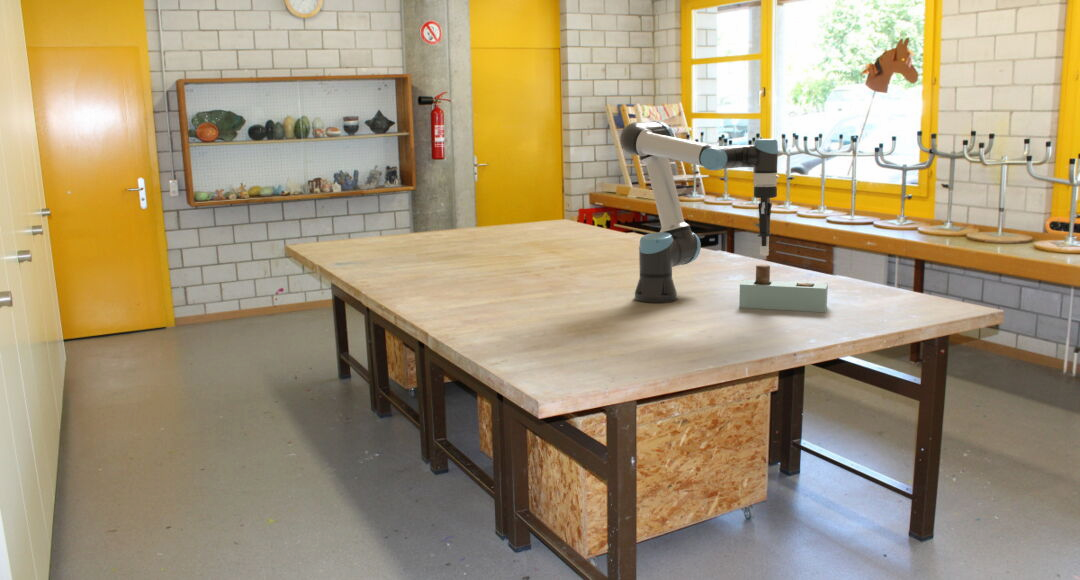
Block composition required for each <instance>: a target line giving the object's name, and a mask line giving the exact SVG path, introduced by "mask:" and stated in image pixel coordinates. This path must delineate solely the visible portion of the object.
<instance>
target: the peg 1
mask: <svg viewBox="0 0 1080 580" xmlns="http://www.w3.org/2000/svg"><path fill="white" fill-rule="evenodd" d="M770 277H771V265H770V264H756V266H755V280H756V284H761V285H770V281H771V280H770V279H771V278H770Z"/></svg>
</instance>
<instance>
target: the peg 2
mask: <svg viewBox="0 0 1080 580" xmlns="http://www.w3.org/2000/svg"><path fill="white" fill-rule="evenodd" d="M811 283H812V282H806V283H798V286H802V287H812V284H811Z"/></svg>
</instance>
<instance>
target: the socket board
mask: <svg viewBox="0 0 1080 580" xmlns="http://www.w3.org/2000/svg"><path fill="white" fill-rule="evenodd" d="M798 283H807V282H805V281H802V282H801V281H783V280H781V281H780V280H770V285H761V284H756V279H743V280H742V281H741V282H740V283H739V302H738V304H739V308H743V309H745V308H746V309H763V310H775V311H776V310H779V311H781V310H782V311H797V312H815V313H826V311H827V307H828V290H829V289H828V287H829V286H828V285H829V283H823V282H810V283H811V284H812V287H802V286H798Z"/></svg>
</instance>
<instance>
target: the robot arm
mask: <svg viewBox="0 0 1080 580" xmlns="http://www.w3.org/2000/svg"><path fill="white" fill-rule="evenodd" d="M673 132H674V131H673V130H672V128H671V127H670V126H669V125H668V124H666V123H665V122H662V121H656V120H654V121H653V120H652V121H642V122H641V121H640V122H638V121H637V122H632V123H629V124H628V125H626V126H625V127H624V128H623V129H622V131H621V133H620V136H619V141H620V146H621V148H622V149H623V151H624V152H625V153H627V154H629V155H635V156H639V159H640V162H641V163H642V164H643V165H645V166H646V170H647V173H648V177H649V182H650V185H651V189H652V193H653V194H652V195H653V197H654V201H655V205H656V210H657V214H658V218H659V222H660V227H661V229H659V230H660V231H659V232H657V231H656V232H650V233H647V234H644V235H642V236H641V238H640V239H639V247H638V250H639V252H638V253H639V258H638V259H639V260H638V261H639V279H638V281H637V284H636V285H637V286H636V288H635V289H634V290H635V291H634V300H636V301H638V302H642V303H651V304H652V303H653V304H654V303H655V304H656V303H657V304H659V303H660V304H661V303H662V304H663V303H670V302H674V301H677V298H678V292H677V289H676V286H675V283H674V279H673V267H679V266H684V265H688V264H690V263H692V262H694V261H695V260H696V259H697V258H698V257H699V255H700V253H701V248H702V247H701V246H702V244H701V239H700V238H699V236H698V235H697V234H696V233H694V232H693V231H692V229H691V225H690V224H689V223H687V222H686V221H685V219H684V214H683V211H682V206H681V202H680V198H679V194H678V190H677V186H676V182H675V178H674V175H673V170H672V166H671V162H670V160H672V161H678V162H681V163H686V164H687V163H688V164H691V165H695V166H700V167H703V168H704V169H705V170H708V171H719V170H720V171H721V170H726V169H735V168H737V169H738V168H754V169H753V185H755V186H754V187H753V197H754V198H757V199H760V201H759V203H758V206H757V207H758V217H759V218H758V221H759V226H758V227H759V229H758V230H759V233H758V234H757V237H759V256H765V257H766V256H767V257H768V256H769V255H770V253H769V250H770V249H769V248H770V247H769V245H770V243H769V242H770V236H772V233H771V231H770V230H771V229H770V227H771V214H772V207H773V205H772V204H773V203H772V202H771V199H772V198H773V199H774V198H776V197H778V186H777V184H778V179H779V178H780V176H779V175H778V157H779V156H778V155H779V148H778V147H779V146H778V145H779V144H778V140H777V139H775V138H757V139H755V140H754V143H753V144H727V145H725V146H719V145H716V144H715V145H714V144H708V143H704V142H699V141H694V140H689V139H684V138H680V137H679V138H678V137H675V136H674V133H673Z"/></svg>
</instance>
